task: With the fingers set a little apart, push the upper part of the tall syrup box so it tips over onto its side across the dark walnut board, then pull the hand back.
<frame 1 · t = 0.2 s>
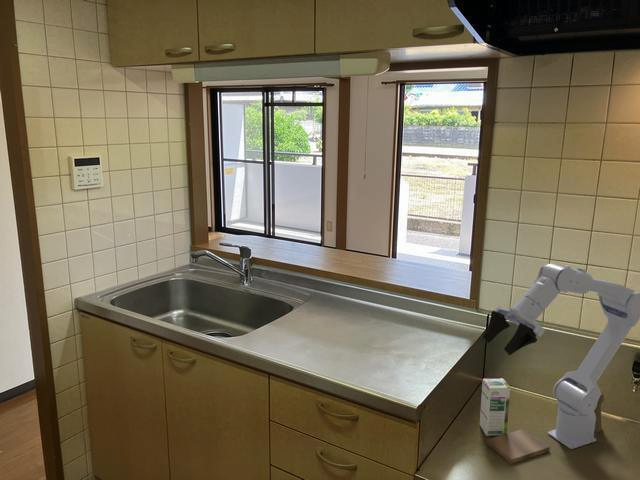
hand: (495, 346, 124), 31 cm above the counter, tool tilted 50°, fingers open, 7 cm apart
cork: (589, 426, 147), on the counter
walnut board: (517, 447, 137), on the counter
syrup box: (492, 430, 145), on the counter
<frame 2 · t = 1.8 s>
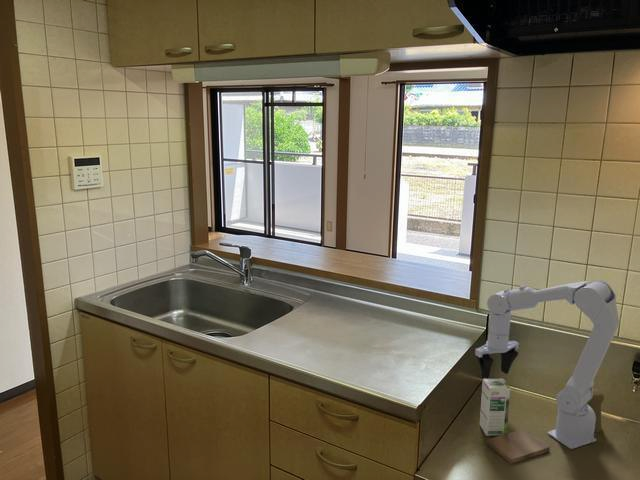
hand: (495, 374, 155), 10 cm above the counter, tool pointing down, fingers open, 7 cm apart
nothing on the counter moved.
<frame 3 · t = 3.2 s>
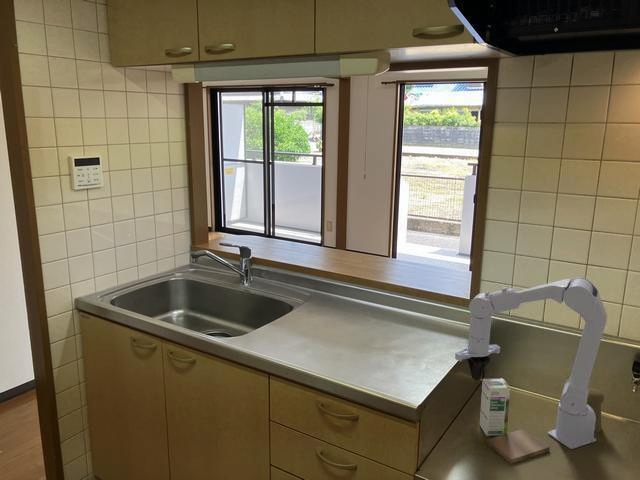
hand: (475, 378, 152), 10 cm above the counter, tool pointing down, fingers closed
nothing on the counter moved.
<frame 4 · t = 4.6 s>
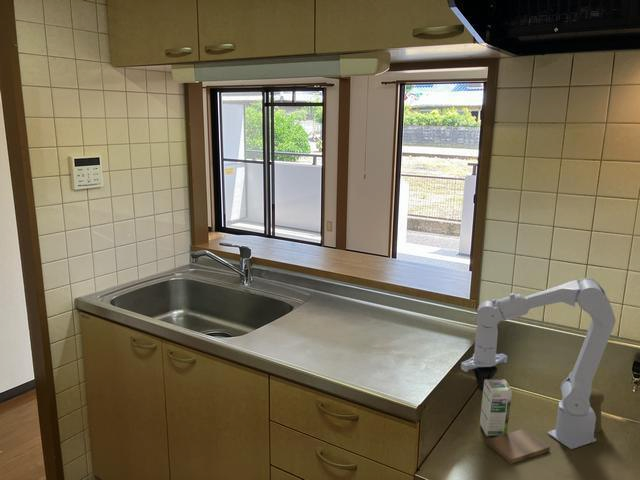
hand: (482, 389, 147), 10 cm above the counter, tool pointing down, fingers closed
syrup box: (492, 429, 145), on the counter, touching gripper
everything else where it was.
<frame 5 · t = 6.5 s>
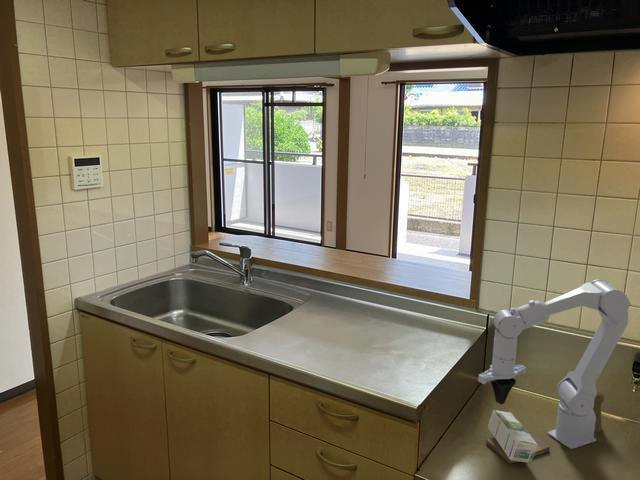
hand: (499, 402, 141), 10 cm above the counter, tool pointing down, fingers closed
syrup box: (499, 418, 142), point 5 cm above the counter, touching walnut board
everything else where it was.
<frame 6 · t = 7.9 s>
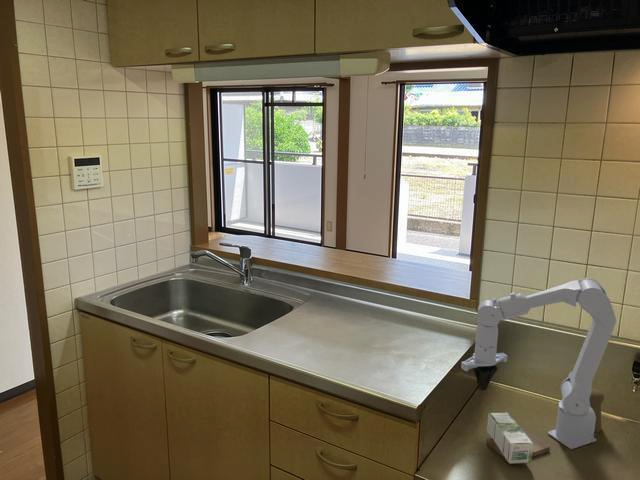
hand: (482, 388, 147), 10 cm above the counter, tool pointing down, fingers closed
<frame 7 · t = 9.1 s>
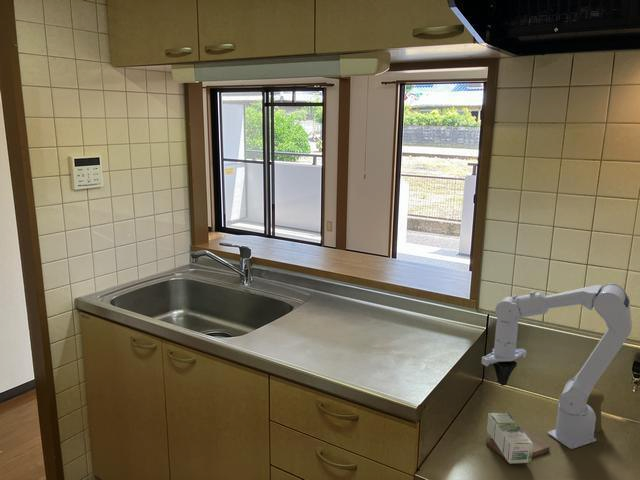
hand: (501, 383, 149), 10 cm above the counter, tool pointing down, fingers closed
nothing on the counter moved.
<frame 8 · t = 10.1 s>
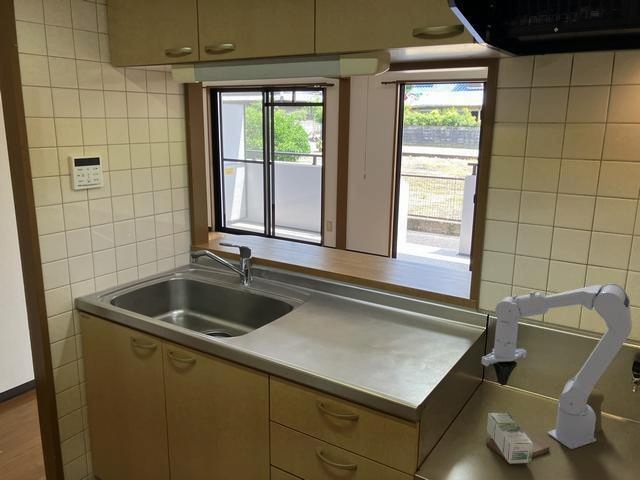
hand: (501, 383, 149), 10 cm above the counter, tool pointing down, fingers closed
nothing on the counter moved.
at the end: syrup box tilted 90°; syrup box inside the target area (4.6 cm from its centre), point 4.2 cm above the counter; syrup box touching walnut board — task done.
